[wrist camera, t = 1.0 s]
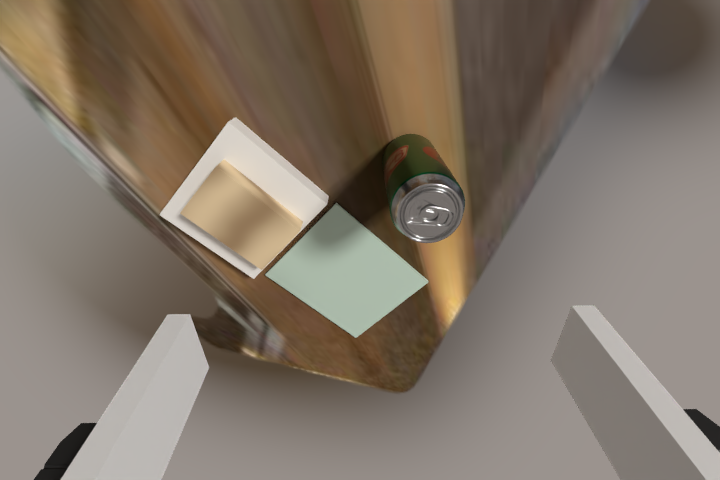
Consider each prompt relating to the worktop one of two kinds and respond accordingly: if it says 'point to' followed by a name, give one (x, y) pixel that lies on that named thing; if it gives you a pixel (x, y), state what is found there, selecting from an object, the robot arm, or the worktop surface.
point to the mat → (346, 272)
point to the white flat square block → (262, 170)
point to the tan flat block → (242, 215)
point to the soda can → (421, 190)
